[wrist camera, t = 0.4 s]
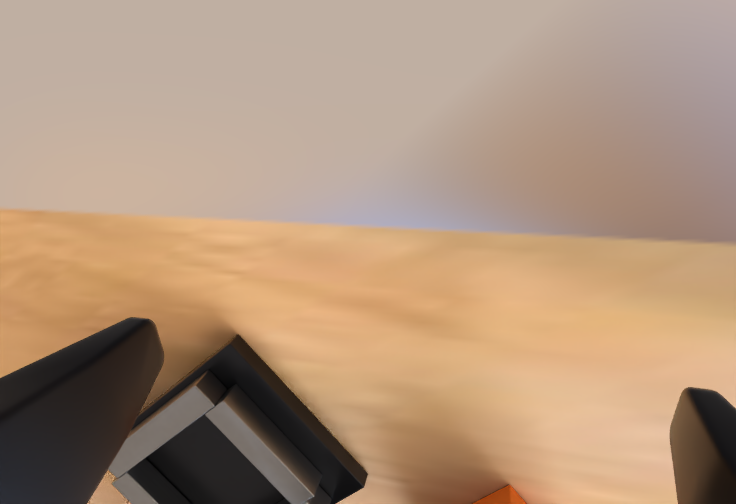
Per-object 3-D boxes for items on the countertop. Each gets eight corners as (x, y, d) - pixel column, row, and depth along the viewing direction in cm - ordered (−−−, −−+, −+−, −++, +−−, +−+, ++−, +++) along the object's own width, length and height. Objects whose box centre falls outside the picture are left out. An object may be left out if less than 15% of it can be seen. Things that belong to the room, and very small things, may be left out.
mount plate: (221, 559, 33) (201, 597, 31) (102, 441, 32) (73, 472, 30) (368, 473, 29) (358, 510, 27) (238, 333, 28) (215, 359, 25)
